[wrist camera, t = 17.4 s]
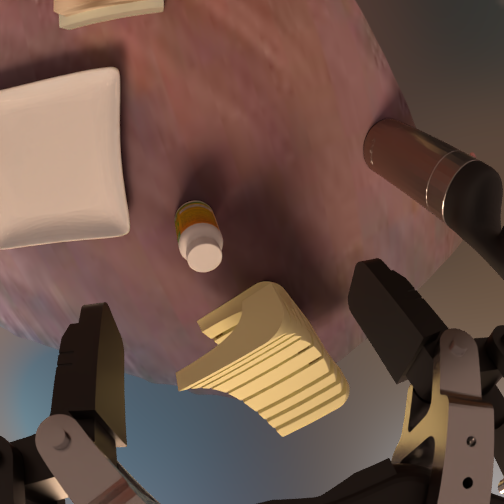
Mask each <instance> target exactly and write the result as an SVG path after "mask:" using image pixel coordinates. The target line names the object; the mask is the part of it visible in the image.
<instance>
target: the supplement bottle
mask: <svg viewBox="0 0 504 504" xmlns="http://www.w3.org/2000/svg"><path fill="white" fill-rule="evenodd" d="M175 227H176V233H177V239H178V246H179V250H180V253H181V255H182V256H183V257H184V258H185V259H186V260H187V262H188V264H189V266H190V267H191V268H192V269H193V270H195V271H198V272H208V271H211V270H213V269H215V268H216V267H217V266H218V265H219V264H220V262H221V260H222V252H221V250H222V247H223V238H222V234H221V232H220V229H219V226H218V224H217V221H216V218H215V216H214V213H213V211H212V209H211V207H210V206H209V205H207V204H206V203H204V202H202V201H196V200H195V201H189V202H186V203H185V204H183V205H182V206H181V207H180V208H179V209H178V210H177V212H176V214H175Z"/></svg>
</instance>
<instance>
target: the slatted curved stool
mask: <svg viewBox="0 0 504 504" xmlns="http://www.w3.org/2000/svg"><path fill="white" fill-rule="evenodd" d="M197 323H198V324H199V326H200V328H201V331H202V332H203V333H204V334H205V335H207V336H208V337H209V338H211V339H212V338H213V339H214V342H216V343H217V344H218V346H216V347H215V348H214V349H212V350H211V351H210V352H208V353H207V354H205V355H204V356H202V357H201V358H199V359H198V360H196V361H195V362H193V363H192V364H190V365H188V366H187V367H185V368H183V369H181V370H180V371H178V372H176V378H177V384H178V390H179V391H182V390H186V389H189V388H191V389H193V388H200V387H202V388H211V387H212V389H215V390H219V391H222V392H225V393H226V392H228V393H229V394H230V395H232V396H234V397H236V398H238V399H239V400H243V401H244V403H245V404H247V405H248V406H250V407H251V408H252V409H253V410H255V411H258V413H259V414H260V416H262V417H263V418H264V419H267V422H268V423H269V424H270V425H271V426H272V427H273V428H274V427H275V428H276V430H277V432H278V433H279V434H280V435H281V436H282V437H283V436H285V435H288V434H289V433H292V432H294V431H296V430H298V429H300V428H302V427H304V426H306V425H307V424H310V423H312V422H313V421H315V420H317V419H319V418H321V417H323V416H325V415H327V414H328V413H330V412H332V411H333V410H336V409H337V408H339V407H340V406H342V405H343V404H344V403H345V402H346V400H347V398H348V396H349V384H348V382H347V380H346V378H345V377H344V375H343V373H342V371H341V369H340V368H339V367H338V366H337V365H336V363H335V362H334V361H333V360H332V358H331V357H330V355H329V354H328V352H327V351H326V350H325V348H324V346H323V344H322V343H321V341H320V339H319V337H318V336H317V334H316V332H315V331H314V329H313V327H312V326H311V324H310V322H309V320H308V319H307V318H306V317H305V315H304V314H303V313H302V312H301V310H300V309H299V308H298V306H297V305H296V304H295V302H294V301H293V300H292V299H291V297H290V296H289V295H288V293H287V292H286V291H285V289H284V288H283V287H282V286H280V285H279V284H277V283H274V282H269V281H263V282H259V283H257V284H255V285H253V286H252V287H250V288H249V289H247V290H246V291H244V292H242V293H241V294H239V295H238V296H236V297H235V298H233V299H231V300H230V301H228V302H227V303H225V304H224V305H222V306H220V307H219V308H217V309H216V310H214V311H213V312H211V313H209V314H208V315H206V316H205V317H203V318H201V319H200V320H198V321H197Z"/></svg>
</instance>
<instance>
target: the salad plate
mask: <svg viewBox="0 0 504 504" xmlns="http://www.w3.org/2000/svg"><path fill="white" fill-rule="evenodd" d="M129 230H130V219H129V211H128V205H127V200H126V193H125V186H124V180H123V171H122V160H121V146H120V73H119V70H118V69H117V68H115V67H103V68H96V69H90V70H85V71H79V72H75V73H70V74H65V75H61V76H56V77H52V78H48V79H43V80H39V81H35V82H31V83H27V84H23V85H19V86H15V87H11V88H7V89H2V90H0V249H12V248H19V247H26V246H34V245H42V244H49V243H58V242H66V241H77V240H88V239H100V238H111V237H119V236H123V235H126V234H127V233H128V232H129Z"/></svg>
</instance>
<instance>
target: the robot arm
mask: <svg viewBox="0 0 504 504" xmlns="http://www.w3.org/2000/svg"><path fill="white" fill-rule="evenodd" d="M364 159H365V161H366V164H367V165H368V167H369V168H370V169H371V170H373V171H374V172H375V173H377V174H378V175H380V176H381V177H383V178H384V179H386V180H387V181H388V182H390V183H391V184H393V185H394V186H396V187H397V188H398V189H400V190H401V191H403V192H404V193H405V194H407V195H408V196H410V197H411V198H412V199H414V200H415V201H416V202H418V203H419V204H420V205H422V206H423V207H424V208H426V209H427V210H428V211H430V212H431V213H432V214H434V215H435V216H436V217H438V218H439V219H440V220H441V221H443V222H444V223H445V224H446V225H448V226H449V227H450V228H451V229H452V230H454V231H455V232H456V233H457V234H458V235H459V236H460V237H461V238H462V239H463V240H465V241H466V242H467V243H468V244H469V245H470V246H471V247H472V248H473V249H475V250H476V251H477V252H478V253H479V254H480V255H481V256H482V257H483V258H484V259H485V260H486V261H487V262H488V263H489V265H490V266H491V267H492V268H493V269H494V270H495V271H496V272H497V273H498V274H499V275H500V276H501V278H502V279H503V280H504V226H503V228H502V230H501V221H500V214H501V204H502V192H503V191H502V190H503V189H502V182H501V178H500V176H499V174H498V173H497V172H496V171H495V170H494V169H493V168H492V167H490V166H488V165H487V164H485V163H483V162H482V161H480V160H478V159H476V158H474V157H473V156H471V155H469V154H467V153H465V152H463V151H461V150H459V149H457V148H455V147H453V146H451V145H450V144H448V143H446V142H444V141H442V140H439V139H437V138H435V137H433V136H431V135H429V134H427V133H425V132H422V131H420V130H418V129H416V128H414V127H412V126H409V125H407V124H405V123H402V122H400V121H397V120H395V119H384V120H382V121H379V122H378V123H377V124H375V125H374V126H373V127H372V128H371V130H370V131H369V133H368V134H367V137H366V139H365V143H364ZM348 305H349V309H350V311H351V313H352V315H353V316H354V318H355V319H356V321H357V322H358V324H359V325H360V327H361V329H362V330H363V332H364V333H365V335H366V336H367V338H368V339H369V341H370V343H371V344H372V346H373V347H374V348H375V350H376V352H377V354H378V355H379V357H380V358H381V360H382V362H383V363H384V365H385V366H386V368H387V370H388V371H389V373H390V375H391V376H392V378H393V379H394V381H395V382H396V384H398V383H401V382H403V381H405V380H409V381H410V383H411V384H410V386H409V389H408V396H407V403H406V411H405V418H404V424H403V430H402V435H401V439H400V441H399V443H398V445H397V447H396V449H395V451H394V454H393V457H392V461H390V459H389V458H388V459H386V460H384V461H382V462H379V463H377V464H375V465H373V466H370V467H368V468H366V469H363V470H361V471H359V472H356V473H354V474H353V475H351V476H350V477H349V478H347V479H346V480H344V481H343V482H341V483H340V484H338V485H337V486H335V487H334V488H332V489H331V490H329V491H328V492H326V493H325V494H323V495H321V496H319V497H314V498H302V499H286V500H270V501H266V502H262V503H258V504H504V497H501V496H498V495H495V494H492V493H491V488H492V477H493V461H494V457H495V459H496V461H497V463H498V465H499V467H500V469H501V472H502V474H503V476H504V397H503V396H502V394H501V392H500V391H499V389H498V388H497V386H496V384H497V382H498V381H499V380H500V379H501V378H502V377H504V325H501V326H497V327H496V328H495V329H494V330H493V332H492V333H491V335H490V336H489V337H487V338H475V339H473V338H472V337H471V336H470V335H469V334H468V333H467V332H465V331H462V330H460V329H456V328H451V329H448V328H447V326H446V325H445V324H444V323H443V321H442V320H441V319H440V318H439V317H438V315H437V314H436V313H435V312H434V310H433V309H432V308H431V307H430V306H429V305H428V303H427V302H426V301H425V300H424V299H422V298H421V295H420V294H419V293H418V292H417V290H414V287H413V286H412V285H411V284H410V282H409V281H408V280H407V279H406V278H405V277H403V276H402V275H400V274H398V273H397V272H395V271H394V270H390V269H389V268H388V267H387V265H386V264H385V263H384V262H383V261H382V260H381V259H379V258H376V259H371V260H366V261H361V262H358V263H357V264H356V266H355V270H354V274H353V279H352V283H351V287H350V291H349V295H348ZM59 353H60V355H59V356H58V362H57V365H58V367H57V368H56V375H55V381H54V389H53V397H52V406H51V413H50V416H49V417H48V418H46V419H45V420H44V421H43V422H42V423H41V424H40V426H39V427H38V429H37V432H36V434H34V435H32V436H29V437H26V438H23V439H19V440H16V441H13V442H8V441H7V440H6V439H5V438H3V437H2V436H0V504H65V498H67V497H69V498H70V499H71V500H72V502H73V503H74V504H160V503H159V502H158V501H157V500H155V499H154V498H153V497H152V496H151V495H150V494H149V493H148V492H147V491H146V490H145V489H144V488H143V487H142V486H141V485H140V484H139V483H138V482H137V481H136V480H135V479H134V478H133V477H132V476H131V475H130V474H129V473H128V472H127V471H126V470H125V469H124V468H123V467H122V465H121V464H120V463H119V462H118V461H117V456H116V447H127V440H126V425H125V424H126V423H125V399H124V347H123V342H122V338H121V335H120V333H119V330H118V328H117V326H116V323H115V321H114V318H113V316H112V313H111V311H110V308H109V306H108V304H107V303H106V302H104V303H96V304H89V305H83V306H82V308H81V313H80V318H79V323H76V324H70V325H69V327H68V328H67V330H66V332H65V333H64V335H63V336H62V339H61V344H60V350H59ZM498 490H499V492H500V493H502V494H504V479H503V480H501V481H500V483H499V485H498Z"/></svg>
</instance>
